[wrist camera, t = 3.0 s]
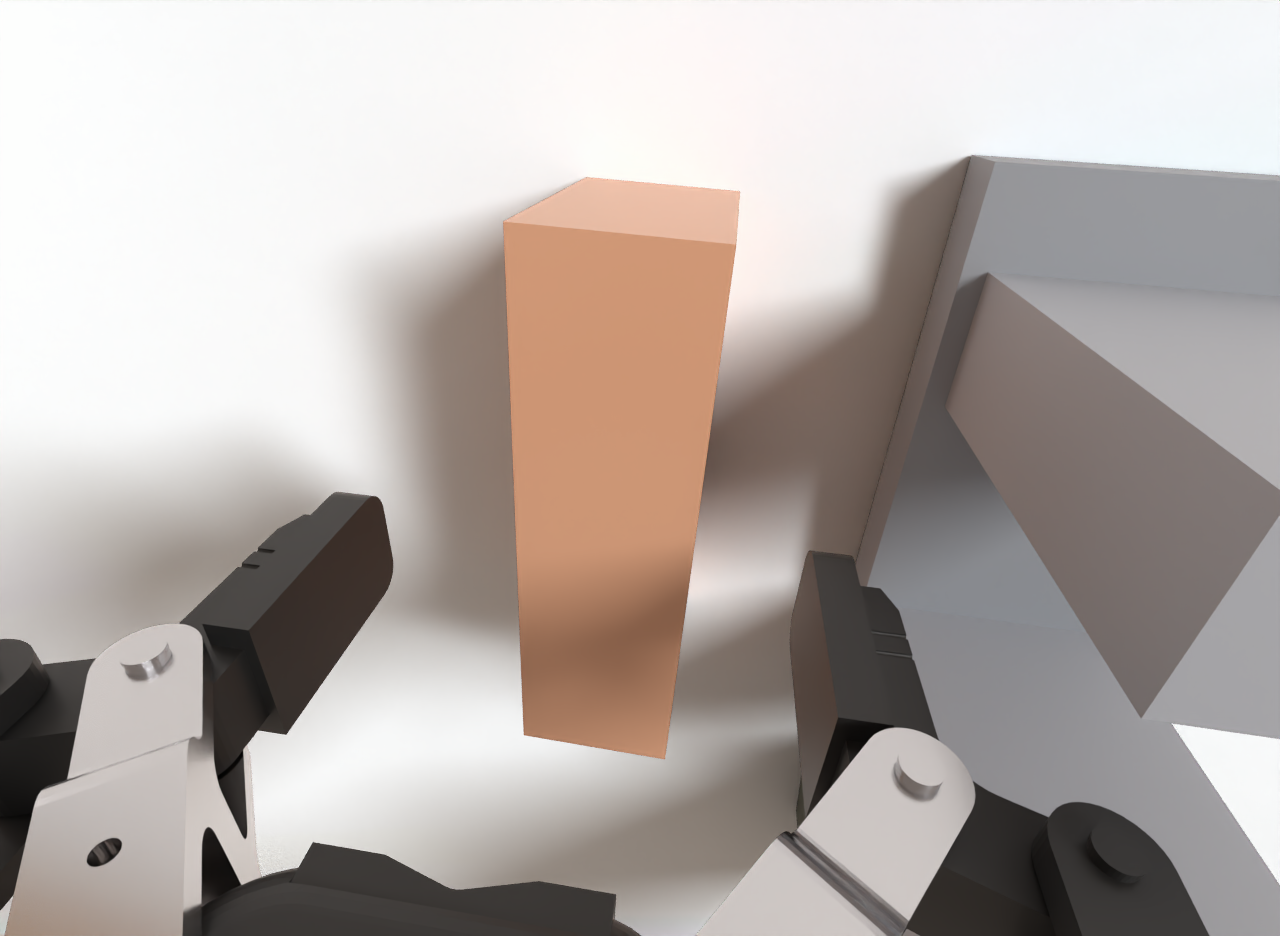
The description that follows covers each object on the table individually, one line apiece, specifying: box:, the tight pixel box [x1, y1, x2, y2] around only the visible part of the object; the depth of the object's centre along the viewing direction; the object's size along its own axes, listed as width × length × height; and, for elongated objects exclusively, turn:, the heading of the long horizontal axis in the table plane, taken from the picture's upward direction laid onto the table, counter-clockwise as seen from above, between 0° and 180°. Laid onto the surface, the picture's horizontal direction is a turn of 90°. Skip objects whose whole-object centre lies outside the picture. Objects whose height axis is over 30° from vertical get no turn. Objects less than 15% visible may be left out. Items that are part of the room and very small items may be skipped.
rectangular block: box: [503, 177, 740, 759], centre depth 15 cm, size 4×12×6 cm, turn 176°
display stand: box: [855, 155, 1280, 936], centre depth 13 cm, size 7×16×10 cm, turn 177°
